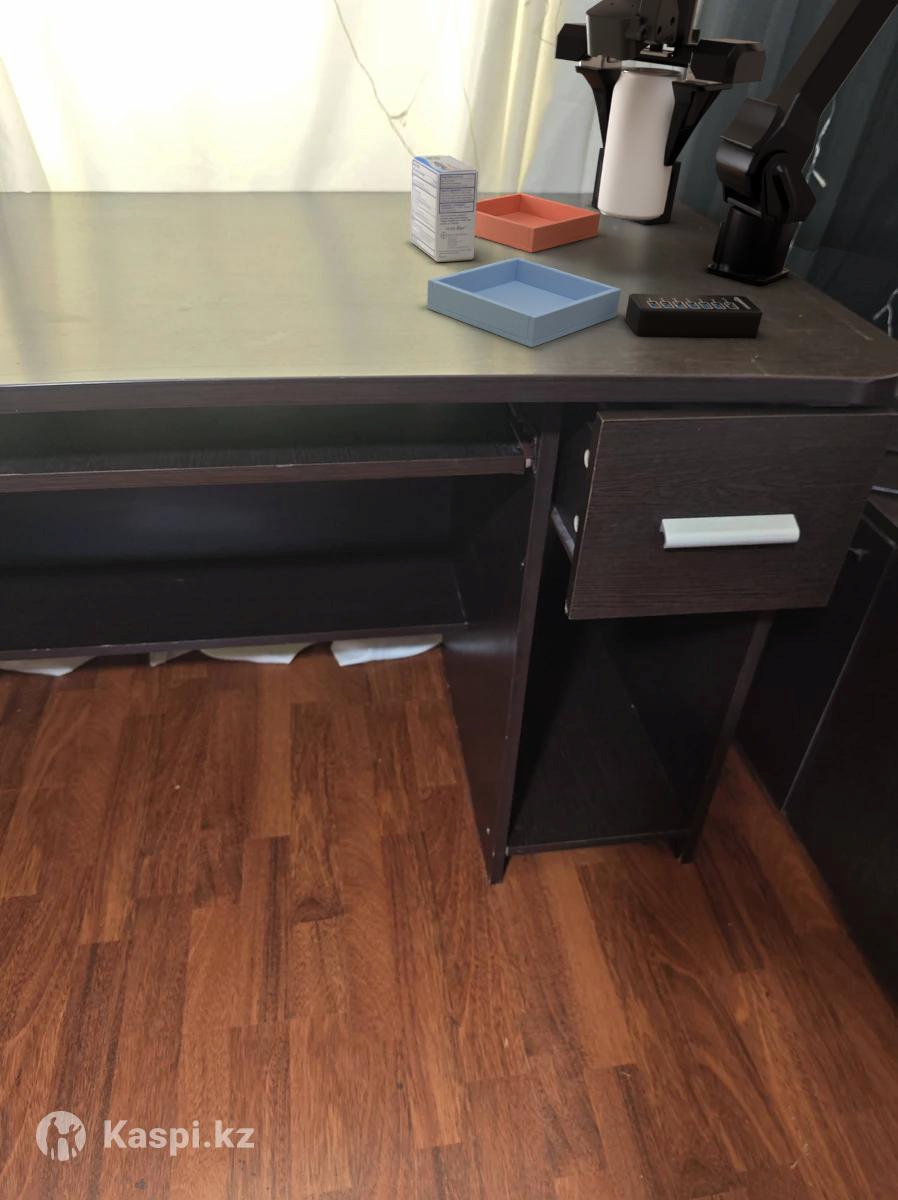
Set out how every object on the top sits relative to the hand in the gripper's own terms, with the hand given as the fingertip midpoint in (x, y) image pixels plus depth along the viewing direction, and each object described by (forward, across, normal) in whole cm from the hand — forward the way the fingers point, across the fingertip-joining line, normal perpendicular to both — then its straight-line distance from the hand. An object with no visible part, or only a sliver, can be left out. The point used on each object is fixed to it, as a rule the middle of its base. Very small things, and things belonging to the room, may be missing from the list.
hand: (637, 159), depth 81 cm
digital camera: (+11, -15, +23) cm, 30 cm away
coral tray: (+11, -17, +5) cm, 21 cm away
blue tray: (+11, +1, -17) cm, 20 cm away
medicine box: (+11, -17, -9) cm, 22 cm away
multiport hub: (+11, +13, -8) cm, 19 cm away
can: (+5, 0, 0) cm, 5 cm away
